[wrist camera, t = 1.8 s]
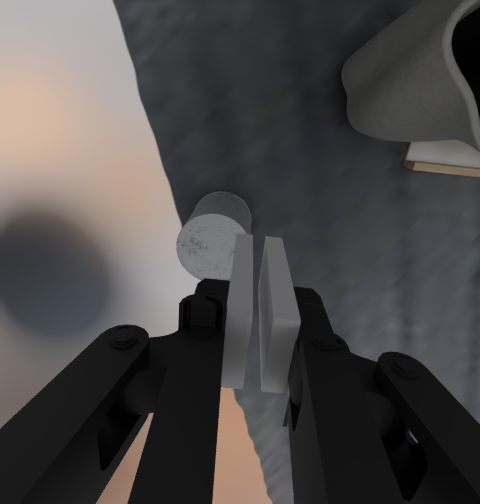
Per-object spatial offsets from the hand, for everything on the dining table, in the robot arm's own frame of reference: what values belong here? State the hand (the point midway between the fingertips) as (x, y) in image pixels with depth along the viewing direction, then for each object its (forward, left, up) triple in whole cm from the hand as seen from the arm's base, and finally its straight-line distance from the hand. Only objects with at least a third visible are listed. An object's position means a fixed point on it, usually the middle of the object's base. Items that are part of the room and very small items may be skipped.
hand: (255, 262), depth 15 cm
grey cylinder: (+10, -4, -37) cm, 38 cm away
